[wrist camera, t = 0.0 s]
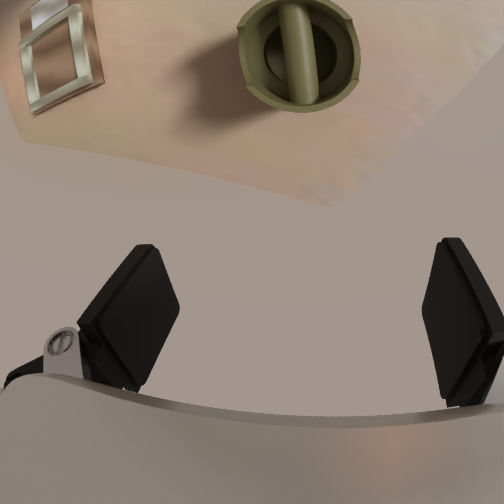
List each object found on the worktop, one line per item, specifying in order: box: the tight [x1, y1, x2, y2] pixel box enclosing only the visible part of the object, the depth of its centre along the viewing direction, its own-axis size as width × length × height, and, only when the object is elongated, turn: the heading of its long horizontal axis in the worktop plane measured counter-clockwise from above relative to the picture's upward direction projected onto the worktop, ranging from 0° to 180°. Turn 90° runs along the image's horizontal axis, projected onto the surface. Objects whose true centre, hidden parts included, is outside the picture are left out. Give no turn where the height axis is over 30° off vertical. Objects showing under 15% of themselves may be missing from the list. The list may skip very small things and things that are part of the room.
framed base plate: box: [19, 0, 105, 114], centre depth 31 cm, size 21×16×3 cm
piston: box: [236, 0, 361, 113], centre depth 26 cm, size 11×12×11 cm
